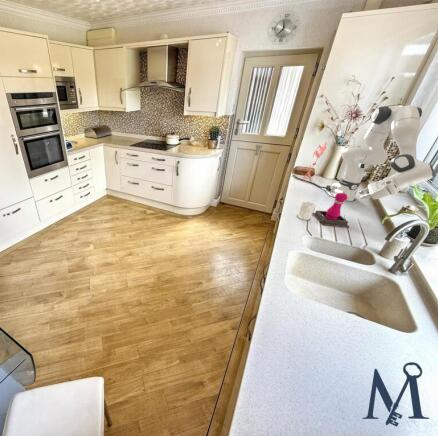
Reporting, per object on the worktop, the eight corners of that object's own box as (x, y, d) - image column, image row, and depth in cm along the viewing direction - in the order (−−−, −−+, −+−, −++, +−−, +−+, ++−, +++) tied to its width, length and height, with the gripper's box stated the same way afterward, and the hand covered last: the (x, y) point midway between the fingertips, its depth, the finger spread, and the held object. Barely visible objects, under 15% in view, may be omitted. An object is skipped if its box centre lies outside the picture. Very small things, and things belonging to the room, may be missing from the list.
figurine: (301, 182, 214) (317, 143, 197) (302, 174, 233) (317, 138, 216) (321, 185, 207) (339, 146, 190) (320, 177, 227) (337, 140, 209)
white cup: (309, 216, 157) (315, 203, 152) (310, 221, 150) (317, 208, 145) (296, 213, 159) (301, 200, 154) (297, 218, 153) (302, 205, 148)
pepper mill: (339, 222, 149) (354, 194, 139) (326, 221, 150) (340, 192, 140) (333, 217, 155) (347, 189, 145) (321, 215, 156) (335, 188, 146)
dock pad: (311, 213, 160) (313, 209, 158) (334, 215, 159) (337, 211, 157) (323, 225, 147) (325, 220, 145) (348, 227, 146) (351, 222, 144)
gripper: (385, 174, 136) (356, 186, 146) (390, 184, 122) (357, 196, 131) (391, 183, 136) (361, 194, 146) (397, 194, 122) (363, 205, 132)
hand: (360, 195), depth 139 cm, fingers open, 8 cm apart
